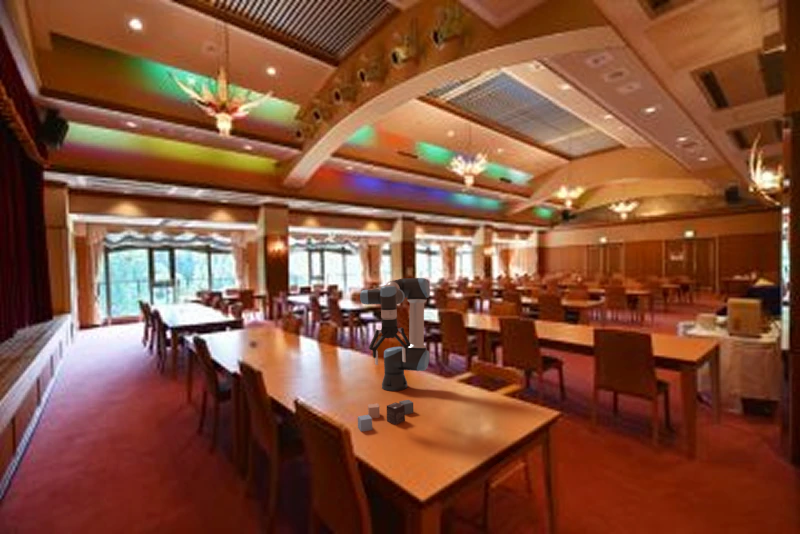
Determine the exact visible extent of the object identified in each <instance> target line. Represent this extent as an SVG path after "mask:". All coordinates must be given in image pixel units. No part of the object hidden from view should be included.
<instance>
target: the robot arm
mask: <svg viewBox="0 0 800 534" xmlns="http://www.w3.org/2000/svg"><path fill="white" fill-rule="evenodd" d="M429 284H430V283H429V282H428V280H427V279H426V278H424V277H415V278H414V277H410V278H399V279H395V280H392V281H388V282H387V283H386V284H385V285H381V286H379V287H376V288H372V289H363V290H361V291H360V294H359V300H360V302H361V304H362V305H380V312H381V313H380V314H381V315H380V316H381V322H380V324H381V328H380V329H375V330H374V335H373V337H372V339H371V342H370V344H369V346H368V350H370V351H372V358H374V364H375V365H376V366H378V365H379V352H378V348H379V347H380V346H381V344H382V343H383V342H384V340H385V339H394V338H395V339H396V340H397V341H398V342H399V344H401V346H393V347H388V348H386V349H385V350H384V351H383V368H384V369H383V370H384V375H383V378H382V382H381V388H382V389H383V390H385V391H389V392H391V391H392V392H394V391H395V392H397V391H402V390H406V389H407V388H408V382H407V379H406V376H405V371H415V372H423V371H426V370H427V368H428V366H429V363H430V351H429V350H428V349H427V346H426V345H425V343H424V340H425V338H424V337H425V333H424V332H425V303H426V302H427V301H428V299H427V298H429V297H430V296H431V295H430V294H431V289H430V285H429ZM405 298H407V299H406V300H407V302H408V303H409V322H408V323H409V324H408V325H409V327H408V329H409V331H408V332H409V333H408V334H409V335H408V336H409V337H407V335H406V333H405V328H404V327H399V328H398V319H397V318H398V312H397V310H398V309H397V307H398V306H397V305H400V304H401V303H403V302H404V300H405ZM398 332H399V333H400V334H401V336H402V338H403V340H404V341H403V340H402V339H401V337H399V335H398ZM380 333H381V334H382V335H381V336H380V338H379V335H380ZM378 338H379V339H378Z"/></svg>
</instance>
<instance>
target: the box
mask: <svg viewBox="0 0 800 534" xmlns="http://www.w3.org/2000/svg"><path fill="white" fill-rule="evenodd" d="M386 421H387V422H388V423H391V424H393V425H398V424H400V423H403V422H404V421H406V415H405V407H404V405H403V404H400V403H399V402H392V403H390V404H388V405H386Z"/></svg>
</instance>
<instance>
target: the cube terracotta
mask: <svg viewBox="0 0 800 534" xmlns="http://www.w3.org/2000/svg"><path fill="white" fill-rule="evenodd" d="M380 412H381V411H380V404H379V403H377V402H376V403H368V404H367V413H368V414H367V415H369V416H370V417H371V418H372V419H377V418H381V415H380V414H381V413H380Z"/></svg>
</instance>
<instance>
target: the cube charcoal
mask: <svg viewBox="0 0 800 534" xmlns="http://www.w3.org/2000/svg"><path fill="white" fill-rule="evenodd" d="M398 403H400V404H403V405H404V407H405V416H406V415H409V414H413V413H415V411H414V401H411V400H410V399H403V400H399V401H398Z"/></svg>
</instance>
